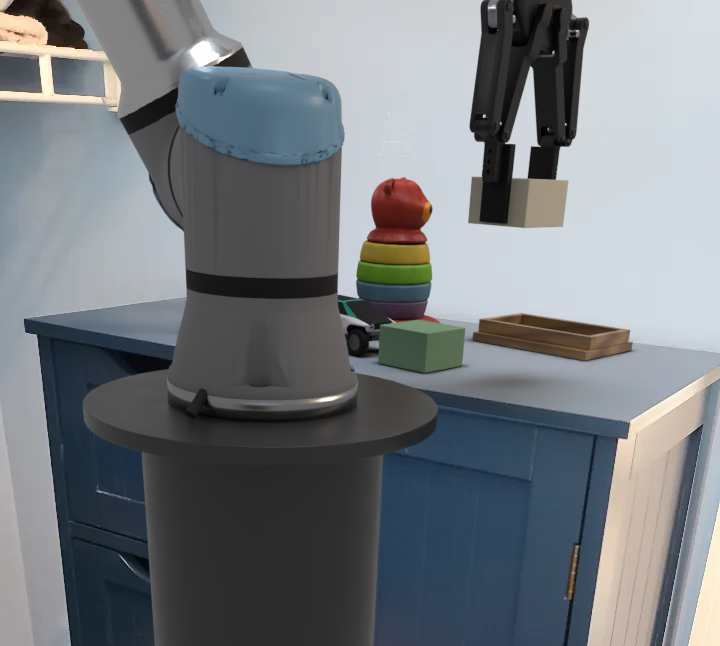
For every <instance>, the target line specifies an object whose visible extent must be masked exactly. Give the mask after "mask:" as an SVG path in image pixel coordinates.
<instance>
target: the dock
mask: <svg viewBox="0 0 720 646" xmlns="http://www.w3.org/2000/svg"><path fill="white" fill-rule="evenodd" d="M630 335H631V329H628V328H622V327H621V328H620V327H615V326H608V325H600V324H595V323H588V322H582V321H577V320H569V319H563V318H555V317H551V316H543V315H537V314H530V313H523V312H519V313H511V314H506V315H498V316H497V315H496V316H490V317H484V318H479V319H478V330H477V331H473V332H472V341H474V342H480V343H485V344H490V345H496V346H502V347H507V348H513V349H519V350H523V351H529V352H536V353H540V354H546V355H551V356H557V357H563V358H567V359H572V360H573V359H574V360H579V361H584V362H585V361H589V360H595V359H599V358H603V357H608V356H613V355H617V354H621V353H622V354H623V353H626V352H631V351H632V349H633V344H634V343H633V341H630Z"/></svg>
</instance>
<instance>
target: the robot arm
mask: <svg viewBox="0 0 720 646" xmlns="http://www.w3.org/2000/svg"><path fill="white" fill-rule="evenodd" d="M76 1H77V4H78V6H79V8H80V9H81V11H82V13H83V14H84V17H85V18H86V20H87V23H88V24H89V26H90V28H91V30H92V31H93V34H94V36H95V38H96V39H97V41H98V43H99V44H100V46H101V48H102V50H103V52H104V54H105V56H106V58H107V60H108V61H109V64H110V66H111V67H112V69H113V71H114V72H115V75H116V76H117V79H118V80H119V82H120V95H119V101H118V106H117V112H116V115H117V117H118V119H119V121H120V123H121V124H122V126H123V128H124V130H125V132H126V134H127V136H128V137H129V139H130V141H131V143H132V145H133V147H134V148H135V150H136V152H137V155H138V156H139V157H140V159H141V161H142V163H143V165H144V167H145V169H146V170H147V172H148V182H149V183H150V185H151V189H152V193H153V195H154V199H155V200H156V202H157V203H158V206H159V207H160V209H161V210H162V211H163V213H164V214H165V216H166V217H167V218H168V219H169V220H170V222H171V223H173V224H174V225H175V227H177V228H179V230H181V231H182V232H183V245H184V263H185V264H184V266H185V267H184V268H185V287H186V298H185V299H186V300H185V305H184V306H185V307H184V310H183V313H182V318H181V322H180V325H179V328H178V333H177V337H176V340H175V341H176V342H175V347H174V351H173V357H172V362H171V364H170V365H169V366H168V369H169V370H168V376H167V391H168V401H169V403H170V404H171V405H172V406H174V407H176V408H177V409H179V410H182V411H184V412H185V413H186V415H187V416H188V417H190V418H192V419H195V417H196V416H197V415H198V416H202V417H208V418H213V419H220V420H229V421H239V422H260V423H279V422H299V421H309V420H317V419H323V418H328V417H333V416H337V415H340V414H343V413H346V412H348V411H350V410H351V409H353V408H354V407H355V406H356V405H357V395H358V380H357V375H356V373H357V372H356V369H355V367H354V366H353V365H351V362H350V355H349V349H348V345H347V340H346V338H345V333H344V329H343V325H342V321H341V317H340V313H339V308H338V295H339V291H338V289H339V260H340V259H339V258H340V257H339V255H340V224H341V223H340V222H341V221H340V220H341V219H340V218H341V191H342V189H341V187H342V159H343V158H342V157H343V155H342V154H343V146H344V142H345V134H346V132H345V126H344V124H343V114H342V113H343V110H342V109H343V108H342V106H343V105H342V98H341V93H340V92H339V89H338V88H337V86H336V85H335V84H334V83H333V82H332V81H330V80H329V79H326V78H324V77H322V76H321V77H320V76H316V75H311V74H307V73H296V72H291V71H284V70H275V69H265V68H257V67H256V68H253V65H252V63H251V61H250V59H249V57H248V54H247V52H246V50H245V48H244V45H243V44H242V42H241V41H238V40H236V39H234V38H232V37H229V36H227V35H224V34H222V33H220V32H218V30H216V29H215V28H214V26H213V24H212V22H211V20H210V18H209V15H208V14H207V12H206V10H205V7H204V5H203V3H202V2H201V0H76ZM479 9H480V10H479V11H480V29H481V35H480V41H479V49H478V57H477V65H476V71H475V78H474V79H475V80H474V88H473V95H472V96H473V97H472V102H471V111H470V118H469V131H470V132H471V133H472V134H473V138H474V141H475V142H477V143H483V144H484V145H483V158H482V168H481V177H482V181H483V186H482V197H481V208H480V219H479V222H490V223H501V224H507V222H508V212H509V202H510V193H511V183H512V178H513V175H514V166H515V165H514V164H515V156H516V146H517V144H516V143H508V142H509V141H510V140H511V136H512V133H513V129H514V127H515V126H514V125H515V123H516V118H517V115H518V111H519V108H520V104H521V101H522V97H523V94H524V90H525V87H526V84H527V83H526V82H527V79H528V77H529V76H528V75H529V73H530V69H532V74H533V75H532V76H533V91H534V94H533V95H534V109H535V111H534V113H535V127H536V129H535V130H536V143H537V146H533V145H532V146H530V151H529V161H528V170H527V178H528V179H549V180H557V176H558V167H559V158H560V152H561V151H560V150H561V148H569V147H570V146H572V143H573V140H575V139H576V136H577V129H578V118H579V107H580V98H581V97H580V95H581V86H582V85H581V84H582V70H583V61H584V48H585V44H586V41H587V37H588V31H589V27H590V20H589V18H588V17H586V16H584V17H583V16H582V17H577V16H576V15H575V14H574V13H573V0H482V1H481V3H480V8H479Z"/></svg>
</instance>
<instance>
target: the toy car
mask: <svg viewBox="0 0 720 646" xmlns="http://www.w3.org/2000/svg"><path fill="white" fill-rule="evenodd" d="M338 308H339V313H340V317H341V321H342V325H343V329H344V333H345V338H346V343H347V348H348V352H350V354H352V355H353V356H362V355H365V354H366V353H367V352H368V350H369V347H370V342H377V341H378V342H379V337H380V325H383V324H391V323H396V322H395V321H393V320H391V319H390V318H388V317H387V316H386V315H384V314H383V313H382V312H381V311H380V310H379V309H377V308H376V307H375V306H374V305H373V304H372V303H370V302H369V301H367V300H363V299H359V297H358V298H357V297H353V296H349V295H348V296H347V295H344V294H338Z"/></svg>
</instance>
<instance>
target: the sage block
mask: <svg viewBox="0 0 720 646" xmlns="http://www.w3.org/2000/svg"><path fill="white" fill-rule="evenodd" d="M465 335H466V327H463V326H457V325H451V324H446V323H441V322H440V323H435V322H429V321H423V320H413V321H406V322H398V323H391V324H383V325H380V337H379V340H378V358H377V360H378V361H377V362H378V364H380V365H385V366H388V367H389V366H390V367H394V368H399V369H404V370H407V371H412V372H417V373H421V374H428V373H432V372H437V371H442V370H447V369H453V368H457V367H458V368H459V367H462V366H463V360H464V349H465Z"/></svg>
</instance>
